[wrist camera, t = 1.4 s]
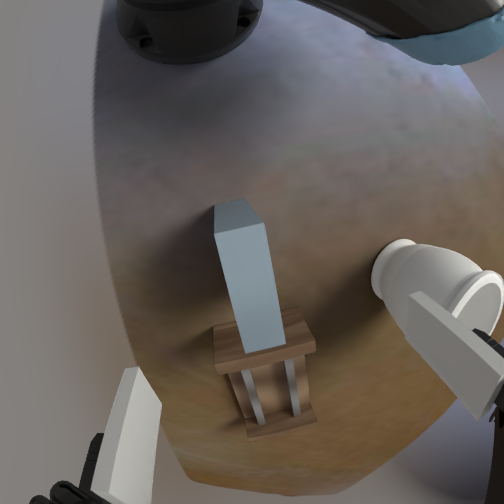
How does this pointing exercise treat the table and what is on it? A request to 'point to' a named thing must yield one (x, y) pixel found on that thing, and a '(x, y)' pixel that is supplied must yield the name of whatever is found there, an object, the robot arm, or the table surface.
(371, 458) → the table surface
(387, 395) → the table surface
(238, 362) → the wooden rod frame
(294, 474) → the table surface
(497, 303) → the jar
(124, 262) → the table surface
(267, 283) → the blue-gray rectangular block
